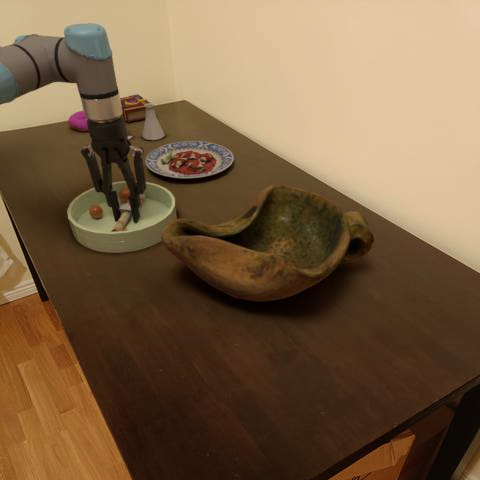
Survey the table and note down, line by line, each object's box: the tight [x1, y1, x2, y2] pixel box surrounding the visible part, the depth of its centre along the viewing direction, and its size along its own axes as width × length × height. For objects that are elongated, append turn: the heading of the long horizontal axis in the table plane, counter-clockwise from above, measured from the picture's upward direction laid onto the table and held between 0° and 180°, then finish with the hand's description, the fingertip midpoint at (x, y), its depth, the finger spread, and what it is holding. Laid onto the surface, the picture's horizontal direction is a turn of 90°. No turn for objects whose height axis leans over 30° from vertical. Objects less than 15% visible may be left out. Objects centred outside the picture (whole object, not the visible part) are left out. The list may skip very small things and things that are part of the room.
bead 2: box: [119, 189, 131, 202], centre depth 109 cm, size 3×3×3 cm
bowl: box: [161, 183, 375, 302], centre depth 83 cm, size 39×29×15 cm
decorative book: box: [120, 93, 152, 123], centre depth 157 cm, size 11×16×5 cm
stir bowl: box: [66, 180, 178, 254], centre depth 102 cm, size 25×25×5 cm
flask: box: [141, 102, 166, 141], centre depth 140 cm, size 7×7×10 cm
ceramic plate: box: [145, 140, 234, 180], centre depth 126 cm, size 26×26×3 cm
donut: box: [67, 110, 89, 133], centre depth 148 cm, size 10×10×5 cm
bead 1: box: [89, 205, 103, 218], centre depth 103 cm, size 3×3×3 cm
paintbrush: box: [111, 194, 146, 232], centre depth 102 cm, size 4×3×20 cm
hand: (127, 218), depth 103 cm, fingers closed on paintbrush, 4 cm apart
